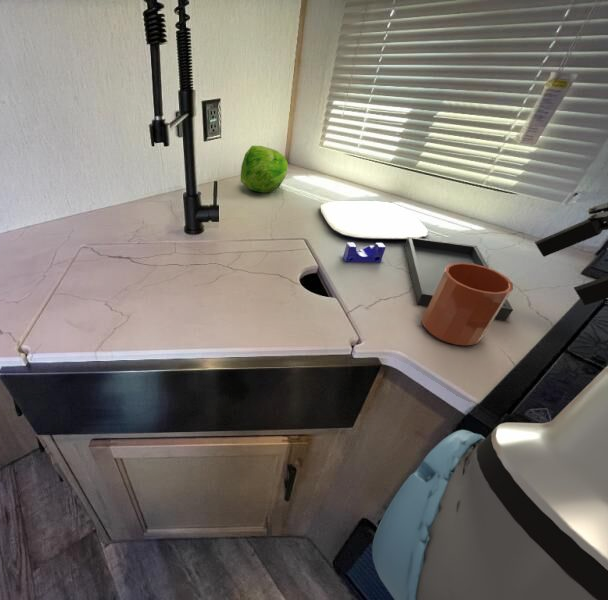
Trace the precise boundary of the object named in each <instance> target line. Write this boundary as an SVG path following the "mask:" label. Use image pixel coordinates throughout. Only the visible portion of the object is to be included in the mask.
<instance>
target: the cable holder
mask: <svg viewBox="0 0 608 600" xmlns="http://www.w3.org/2000/svg"><path fill="white" fill-rule="evenodd" d="M385 250H386V246H385V244H384V243H383V242H375V244H374V245H368V246H367V247H364V248H359V250H358V251H357V245H356V244H355V242H346V245H345V250H344V253H343V256H342V259H343V260H344V262H345V263H378V264H379V263H382V259H383V257H384V254H385Z"/></svg>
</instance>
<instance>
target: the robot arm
mask: <svg viewBox="0 0 608 600" xmlns="http://www.w3.org/2000/svg"><path fill="white" fill-rule="evenodd" d="M587 213H588V216H586V217H587V218H585V219H584V220H581V221H579V222H577V223H574V224H572V225H570V226H567V227H565V228H563V229H562V230H559V231H557V232H555V233H553V234H550V235H548V236H546V237H543V238H541V239H538V240H535V241H534V244H535V246H536V247H537V249H538V251H539V252H540V254H541V255H542V257H543V258H544V257H545V258H546V257H547V256H549V255H552V254H554V253H557V252H560V251H562V250H564V249H567V248H569V247H572V246H574V245H577V244H579V243H582V242H585V241H587V240H590V239H592V238H594V237H597V236H599V235H601V234H602V232H603V231H605V230H606V231H607V230H608V202H606V203H601V204H598V205H594V206H591V207H589V208H587ZM573 289H574V291H575V292H576V294H577V296H578V298H579V300H580V302H582V304H583V305H584V306H588V305H591V304H594V303H597V302H600V301H604V300H607V299H608V275H606V276H603V277H599V278H597V279H594V280H592V281H588V282H586V283H583V284H580V285H577V286H574V287H573ZM401 485H402V486H401V487H400V488H399V490H397V492H396V494H395V495H394V497H393V498H392V500H391V502H390V503H389V505H388V507H387V509H386V510H385V512H384V513H383V515H382V517H381V520H380V522H379V524H378V525H377V528H376V531H375V534H374V536H373V540H372V545H371V546H372V547H371V555H372V561H373V565H374V568H375V570H376V572H377V575H378V577H379V579H380V581H381V582H382V584H383V585H384V587H385V588H386V589H387V592H389V594H390V595H391V596H392V598H393V600H608V365H607V366H605V367H604V368H603V369H602V370H601V371H600V372H599V373H598V374H597V375H596V376H595V377H594V378H593V380H591V381H590V382H589V383H588V384H587V385H586V386H585V387H584V388H583V389H582V390H581V391H580V392H579V393H578V394H577V395H576V396H575V397H574V398H573V399H572V400H571V401H570V402H569V403H568V404H567V405H566V406H565V407H564V408H563V409H562V410H561V411H560V412H559V413H558V414H557V415H556V416H555V417H553V419H551V421H547V422H542V423H541V422H503V423H500V424H498V425H497V426H496V427H495V428H493V430H492V431H491V432H490V433H489V434H488V435H487V436H486V437H484V436H483V435H482V434H480V433H474V432H472V431H470V430H467V429H458V430H455V431H454V432H452V433H450V434H449V435H447V436H445V437H444V438H443V439H442V440H441V441H440V442H438V443H437V445H435V446H434V447H433V448H432V449H431V450H430V451H429V452H428V453H427V455H426V456H425V457H424V459H423V460H422V462H421V463H420V464H419V466H418V468H417V469H416V470H415V471H414V472H413V473H411V474H410V475H409V476H408V478H407V479H406V480H405V481H404V482H403V484H401Z"/></svg>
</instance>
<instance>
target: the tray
mask: <svg viewBox="0 0 608 600" xmlns="http://www.w3.org/2000/svg"><path fill="white" fill-rule="evenodd" d="M404 250H405V255H406V259H407V263H408V264H407V265H408V269H409V273H410V274H409V275H410V278H411V282H412V287H413V292H414V297H415V300H416V305H417V306H421V307H427V306H428V304H429V302H430V300H431V298H432V295H433V293H434V291H435V289H436V287H437V285H438V283H439V281H440V278H441V276H442V274H443V272H444V270H445V268H446V266H448V265H450V264H453V263H471V264H476V265H480V266H484V267H487V268H490V267H489V265H488V263H487V262H486V260H485V258H484V256H483V254H482V253H481V251H480V250H479V247H478V246H477V245H473V244H465V243H457V242H450V241H443V240H436V239H435V240H434V239H429V238H414V237H408V238H407V239H406V241H405V244H404ZM513 311H514V309H513V307H512V305H511V304H510V301H509V300H508V298H507V299H506V301H505V303H504V304H503V306H502V307H501V309H500V310H499V312H498V314H497V315H496V317H495V318H494V320H499V321H504V322H505V321H507V320H508V318H509V317H510V315H511V314H512V312H513Z"/></svg>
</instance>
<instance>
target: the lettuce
mask: <svg viewBox="0 0 608 600" xmlns="http://www.w3.org/2000/svg"><path fill="white" fill-rule="evenodd" d="M240 167H241V168H240V182H241V184H243V185H244V186H245V187H246V189H248V190H250V191H254V192H257V193H263V194H266V193H270V192H271V191H274V190H276V189H279V188H280V187H281V185H282V183H283V181H284V180H285V179H286V175H287V173H288V169H289V164H288V161H287V159H286V157H285V155H283V154H282V153H281V152H279V151H278V150H275V149H273V148H271V147H267V146H264V145H251V146H250V147H249V149H248V150H247V151H246V152H245V153H244V157H243V159H242V163H241V166H240Z"/></svg>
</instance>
